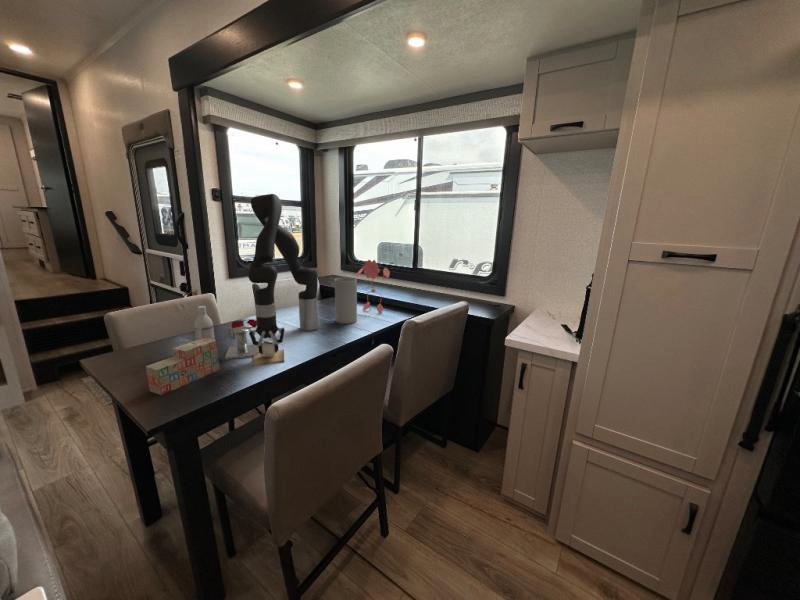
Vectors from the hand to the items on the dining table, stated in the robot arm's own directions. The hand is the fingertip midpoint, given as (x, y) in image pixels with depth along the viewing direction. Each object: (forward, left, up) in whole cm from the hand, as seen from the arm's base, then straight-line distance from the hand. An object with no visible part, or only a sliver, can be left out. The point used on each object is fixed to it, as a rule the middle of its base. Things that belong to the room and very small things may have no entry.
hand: (268, 352), depth 133 cm
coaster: (0, 0, -2) cm, 2 cm away
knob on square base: (+11, -9, -2) cm, 14 cm away
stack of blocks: (+27, +12, -3) cm, 30 cm away
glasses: (+12, -37, -3) cm, 39 cm away
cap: (0, 0, -1) cm, 1 cm away
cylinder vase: (-41, -43, -3) cm, 59 cm away
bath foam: (+26, -16, -3) cm, 31 cm away
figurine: (-59, -55, -3) cm, 81 cm away
